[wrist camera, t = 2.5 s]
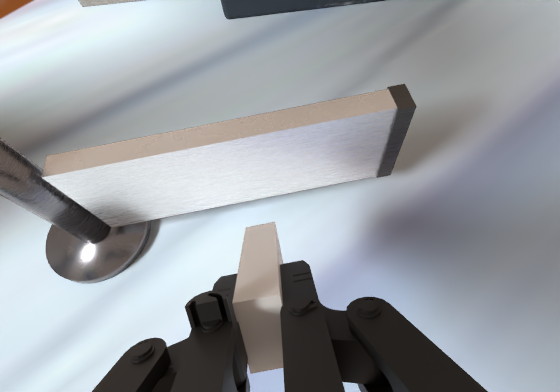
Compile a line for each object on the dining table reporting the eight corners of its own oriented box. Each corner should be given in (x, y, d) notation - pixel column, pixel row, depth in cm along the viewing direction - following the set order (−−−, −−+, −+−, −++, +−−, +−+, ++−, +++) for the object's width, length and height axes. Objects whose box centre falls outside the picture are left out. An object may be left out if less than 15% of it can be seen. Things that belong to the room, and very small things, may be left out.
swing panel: (111, 229, 24) (40, 179, 18) (113, 208, 25) (47, 153, 18) (390, 175, 24) (416, 106, 18) (382, 155, 25) (404, 83, 18)
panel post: (32, 263, 25) (-182, 182, 14) (92, 180, 29) (-43, 64, 18) (113, 298, 23) (-62, 234, 12) (168, 205, 27) (67, 90, 16)
